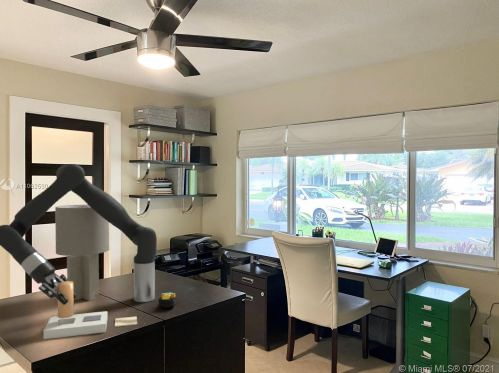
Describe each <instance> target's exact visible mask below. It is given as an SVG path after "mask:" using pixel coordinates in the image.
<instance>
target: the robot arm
mask: <svg viewBox="0 0 499 373" xmlns="http://www.w3.org/2000/svg"><path fill="white" fill-rule="evenodd" d="M55 176H56V179H55V180H54V181H53V182H52V183H51V184H50V185H49V186H48V187H47V188H46V189H44V190H43V191H42V192H40V193H39V194H38V195H36V196H35V197H33V198H32V199H31V200H29V201H28V202H27V203H26V204H25V205H23V207H21V209H20V210H17V212H16V214H15V215H14V217H13V218H14V219H13V220H12V222H10V223H9V224H1V225H0V247H2V249H4V250H5V251H6V252H7V253H8V254H9V255H11V257H12V258H13V259H14V260H15V261H16V262H17V263H18V265H19V266H20V267H21V268H22V269H23V271H24V272H25V273H26V274H28V276H29V277H30V278H32V280H33V281H34V282H35V283H37V284H38V285H39V284H40V286H39V287H38V290H39V291H40V292H42V293H43V294H44V295H46V296H47V297H48V298H50V299H51V300H52V299H53V298H54V299H56V300H57V301H58V300H59V301H60V302H61V303H62V304H63V305H65V304H66V303H67V302H68V301H69V300H68V299H67V298H66V297H65V296H64V295H63V294H61V292H60V290H59V287H58V283H60V282H65V281H68V279H67V276H66V275H65V274H64V273H63V274H60V275H58V274H57V273H56V268H55V267H54V266H53V265H52V264H51V263H50V261H48V259H46V257H45V256H43V254H41V253H40V252H38V250H37V249H35V248H34V247H33V245H31V244H30V242H27V241H26V240H25V238H24V236H25V235H26V234H27V232H28V231H29V229H31V227H32V226H33V225H34V224H36V223H37V221H39V220H40V218H41V217H43V216H44V215H45V214H46V213H47V212H48V211H49V210H50V208H52V207H53V206H54V205H55V204H56V203H58V202H59V200H60V199H62V198H63V197H65V196H66V195H67V194H68V193H69V192H72V193H74V194H75V195H76V196H78V197H79V198H80V199H82V201H83V202H84V203H86V205H89V206H90V207H91V208H92V209H93V210H94V211H96V212H97V213H98V214H99V215H100V216H101V217H103V218H104V219H105V220H107V221H108V222H109V224H111V225H112V226H113V227H115V228H116V229H117V230H120V231H121V232H122V233H123V234H124V235H125V236H126V237H127V239H129V240H130V242H132V243H133V245H135V246H137V250H136V254H135V255H134V257H133V301H134V302H137V303H147V302H152V301H154V300H155V298H156V297H155V296H156V292H155V291H156V290H155V289H156V288H155V287H156V283H155V282H156V281H155V280H156V271H155V266H156V264H155V263H156V262H155V261H156V260H155V259H156V257H157V256H156V255H157V246H158V245H157V243H158V241H157V240H158V239H157V238H158V236H157V234H156V231H155V230H154V229H153V228H151V227H146V226H144V225H141V224H139V223H138V222H137V221H136V220H134V219H133V218H132V217H131V216H130V215H129V213H128V212H127V210H126V208H125V207H124V206H123V205H122V204H121V203H120V202H119V201H118V200H117V199H116V198H115V197H113V196H112V195H110V194H109V193H107V192H106V191H104V190H103V189H101V188H99V187H97V186H95V185H93V183H91V182H90V181H89V180H88V179H87V178H86V172H85V170H84V168H83V167H82V166H80V165H78V164H76V163H75V164H74V163H70V164H69V163H67V164H64V165H61V166H60V167H58V168H57V169H56V174H55ZM76 296H77V295H76V294H75V293H74V292H73V299H74V298H75V297H76Z"/></svg>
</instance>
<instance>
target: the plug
mask: <svg viewBox="0 0 499 373" xmlns="http://www.w3.org/2000/svg"><path fill="white" fill-rule="evenodd" d="M58 287H59V290H60V292H61V294H63V295H64V296H65V297H66V298H67V299H68V300H69V301H68V302H67V303H66V304H65V305H63V304H62V303H61V302H60V301H59V300H58V299H57V316H58V318H69V317H72V316H73V315H75V312H74V302H75V301H74V300H73V282H72V281H65V282H60V283H58Z"/></svg>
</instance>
